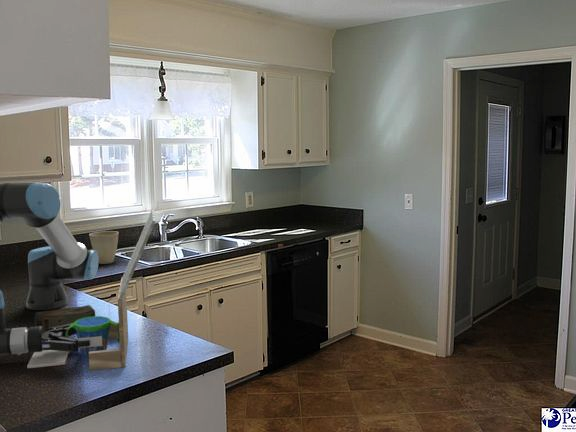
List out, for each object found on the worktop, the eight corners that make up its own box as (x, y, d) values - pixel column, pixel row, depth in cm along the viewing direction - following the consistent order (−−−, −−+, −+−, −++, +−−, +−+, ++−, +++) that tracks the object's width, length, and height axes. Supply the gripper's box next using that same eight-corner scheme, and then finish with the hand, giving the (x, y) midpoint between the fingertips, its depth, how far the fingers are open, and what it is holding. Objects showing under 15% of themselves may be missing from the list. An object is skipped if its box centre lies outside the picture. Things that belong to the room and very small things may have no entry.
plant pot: (115, 258, 310) (113, 230, 308) (123, 263, 298) (122, 233, 296) (87, 261, 302) (85, 232, 300) (95, 266, 290) (93, 236, 288)
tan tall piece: (97, 338, 184) (90, 211, 178) (159, 332, 188) (154, 209, 183) (89, 370, 158) (81, 223, 152) (161, 363, 162) (155, 220, 157)
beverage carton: (96, 326, 196) (95, 308, 195) (37, 336, 186) (36, 317, 185) (91, 320, 203) (90, 302, 202) (34, 330, 193) (32, 311, 192)
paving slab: (36, 350, 173) (36, 348, 173) (70, 347, 176) (70, 345, 175) (27, 368, 160) (27, 365, 160) (64, 364, 162) (64, 361, 162)
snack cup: (122, 345, 177) (121, 314, 176) (117, 358, 167) (116, 325, 165) (71, 348, 175) (69, 317, 173) (62, 361, 164) (60, 328, 163)
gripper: (37, 337, 178) (107, 331, 183) (20, 368, 154) (101, 360, 159) (35, 315, 177) (106, 309, 182) (18, 342, 153) (99, 335, 158)
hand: (104, 333), depth 171 cm, fingers open, 13 cm apart
